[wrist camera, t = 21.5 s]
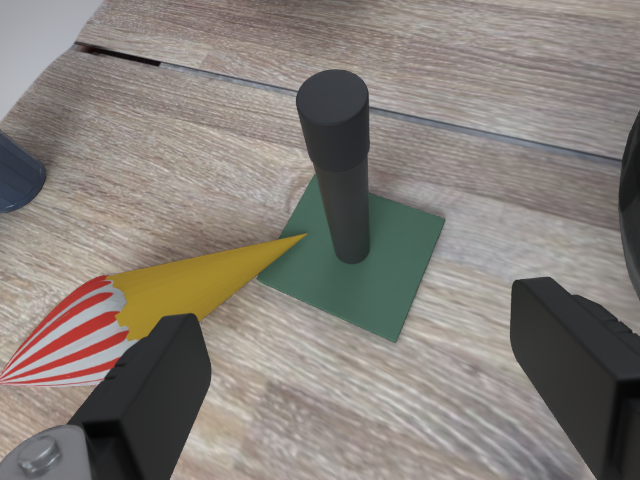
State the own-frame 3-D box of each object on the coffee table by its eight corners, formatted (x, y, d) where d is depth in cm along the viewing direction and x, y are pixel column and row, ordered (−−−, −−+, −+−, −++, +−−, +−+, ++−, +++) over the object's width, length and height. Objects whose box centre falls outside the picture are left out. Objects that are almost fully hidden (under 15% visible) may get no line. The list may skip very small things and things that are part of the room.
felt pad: (395, 343, 24) (396, 341, 24) (258, 281, 27) (256, 278, 27) (444, 222, 27) (445, 218, 27) (315, 177, 30) (314, 173, 29)
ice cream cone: (313, 270, 31) (43, 408, 25) (280, 195, 30) (-9, 322, 24) (342, 281, 25) (-2, 463, 19) (302, 188, 24) (-74, 352, 18)
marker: (337, 270, 26) (302, 132, 13) (329, 235, 27) (289, 78, 14) (375, 260, 26) (377, 113, 13) (365, 226, 27) (358, 60, 14)
